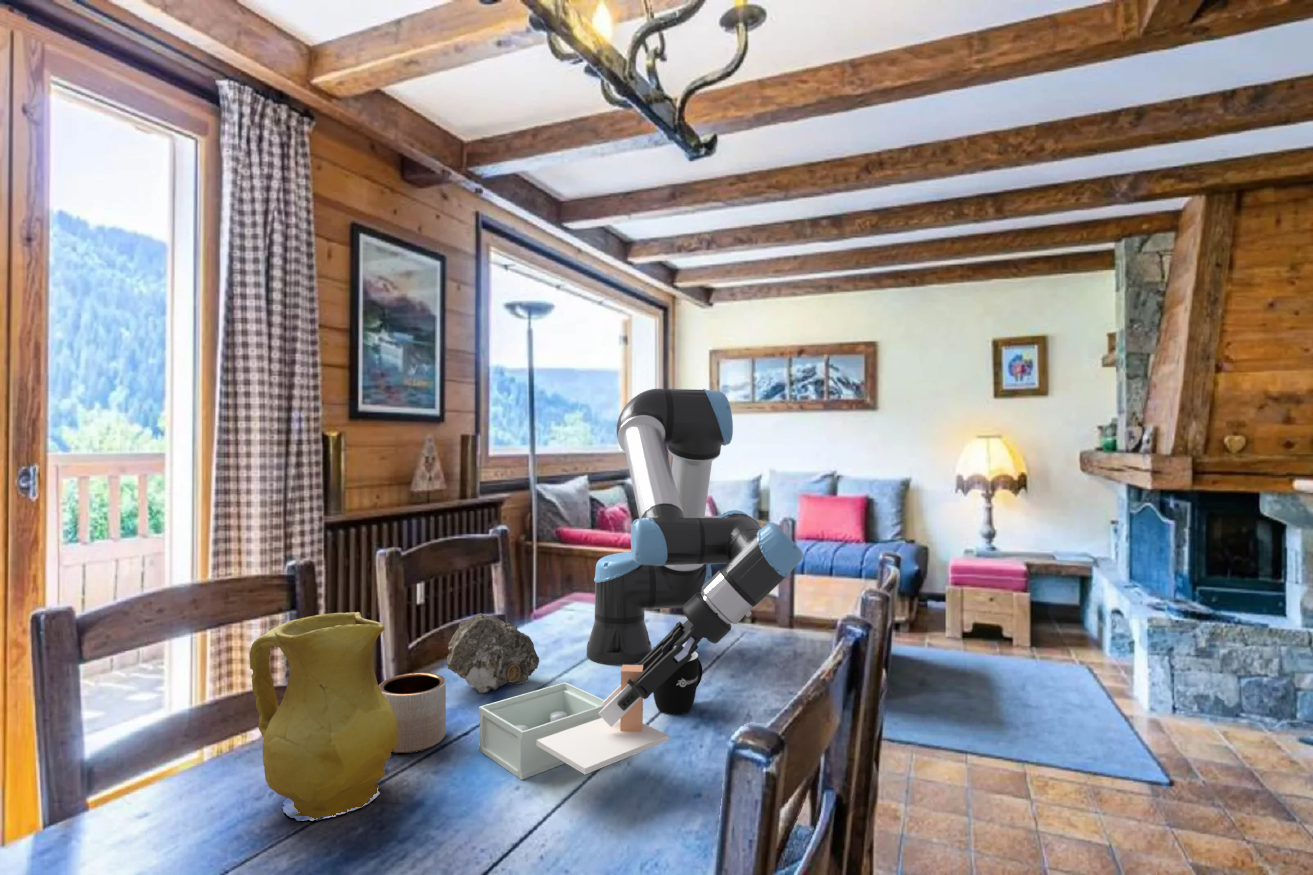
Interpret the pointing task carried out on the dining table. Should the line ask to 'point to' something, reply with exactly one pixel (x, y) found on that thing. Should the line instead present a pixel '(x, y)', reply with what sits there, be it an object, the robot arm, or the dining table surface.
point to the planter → (417, 709)
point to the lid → (605, 736)
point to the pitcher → (324, 713)
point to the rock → (491, 653)
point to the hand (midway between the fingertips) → (606, 714)
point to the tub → (533, 726)
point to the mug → (679, 688)
